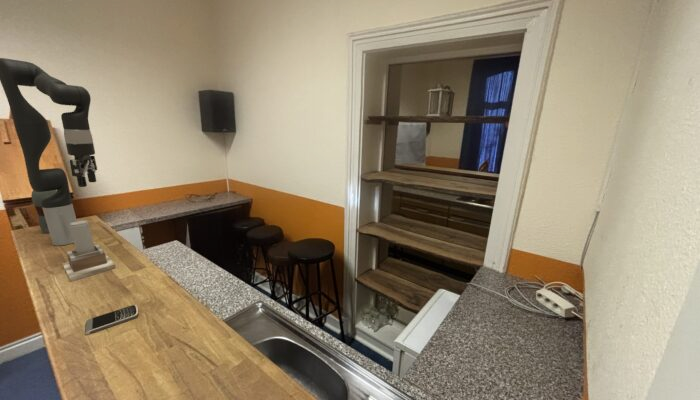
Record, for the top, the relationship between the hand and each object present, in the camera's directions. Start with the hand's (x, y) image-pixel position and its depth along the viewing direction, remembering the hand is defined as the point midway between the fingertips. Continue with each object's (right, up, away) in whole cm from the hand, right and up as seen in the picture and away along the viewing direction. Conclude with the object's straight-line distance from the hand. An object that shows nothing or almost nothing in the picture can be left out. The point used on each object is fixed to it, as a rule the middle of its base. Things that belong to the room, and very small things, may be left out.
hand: (87, 184), depth 108 cm
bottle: (-47, -22, +32) cm, 61 cm away
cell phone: (+38, -39, -33) cm, 64 cm away
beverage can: (+6, -26, -6) cm, 27 cm away
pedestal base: (+6, -31, -5) cm, 32 cm away
